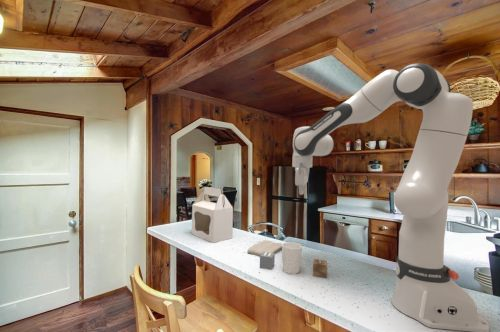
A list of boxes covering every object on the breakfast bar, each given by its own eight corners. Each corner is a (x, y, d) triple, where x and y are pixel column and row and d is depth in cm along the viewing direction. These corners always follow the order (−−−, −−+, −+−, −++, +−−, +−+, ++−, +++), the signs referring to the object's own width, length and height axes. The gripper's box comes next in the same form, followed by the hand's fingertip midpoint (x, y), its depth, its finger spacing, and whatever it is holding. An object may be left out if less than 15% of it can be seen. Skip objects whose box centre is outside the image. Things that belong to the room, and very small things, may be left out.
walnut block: (326, 273, 96) (326, 259, 96) (326, 278, 92) (326, 264, 92) (313, 271, 98) (313, 258, 98) (312, 276, 93) (313, 262, 93)
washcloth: (285, 248, 124) (285, 242, 124) (269, 260, 109) (269, 253, 109) (264, 244, 131) (264, 238, 130) (246, 254, 115) (247, 248, 115)
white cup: (301, 275, 94) (302, 249, 93) (280, 273, 95) (281, 247, 95) (301, 267, 101) (301, 243, 101) (282, 265, 103) (282, 241, 103)
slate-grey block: (274, 265, 103) (274, 252, 103) (271, 270, 98) (271, 257, 98) (262, 263, 104) (263, 251, 104) (259, 268, 100) (259, 255, 100)
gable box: (232, 238, 138) (233, 188, 137) (213, 243, 128) (214, 190, 128) (209, 230, 154) (210, 185, 153) (191, 234, 144) (192, 186, 144)
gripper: (307, 163, 99) (306, 197, 99) (311, 163, 118) (310, 192, 118) (291, 163, 100) (291, 196, 101) (297, 163, 120) (297, 191, 120)
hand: (301, 194), depth 110 cm, fingers closed
